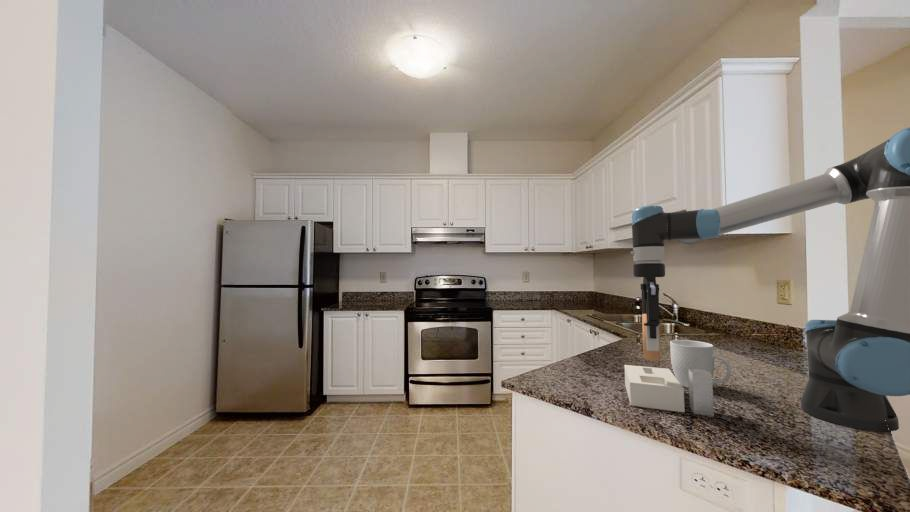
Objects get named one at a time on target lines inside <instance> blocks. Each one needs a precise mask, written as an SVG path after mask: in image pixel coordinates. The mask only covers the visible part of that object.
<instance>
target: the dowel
mask: <svg viewBox="0 0 910 512" xmlns="http://www.w3.org/2000/svg"><path fill="white" fill-rule="evenodd" d="M641 321H642V322H641V323H642V324H641V325H642V330H641V331H642V355H643V356H642V357H643V360H646V361H651V362H659V361H661V341H660V340H661V339H660V338H661V337H660V333H661V332H660V324H659V325H658V336H659V351H650V350H647V338H646V326H644V323H647V314H643V313H642V314H641Z"/></svg>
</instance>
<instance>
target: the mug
mask: <svg viewBox="0 0 910 512" xmlns="http://www.w3.org/2000/svg"><path fill="white" fill-rule="evenodd" d="M669 344H670V347H669V348H670V349H669V350H670V353H669V354H670V363H671V368H672V370H673V371H672V373H673V375H674V376H675V377H676V379H677V380H678V381H679V383H680V384H681V385H682V387H683V388H688V389H689V374H688V369H698V370H707V371H708V372H709V373H711V374H712V384H715V385H716V384H725V383H726V382H728V381H729V380H730V378H731V376H732V368H731V365H730V363H729V361H728V360H727V359H726V358H725V357H723V356H721V355H719V354H715V351H714V350H715V349H714V345H713V344H712V343H709V342H704V341H700V340H699V341H698V340H689V339H688V340H687V339H673V340H670V341H669ZM715 360H720V361H722V363H724V365H725V367H726V376H724V377H723V378H722V379H718V380H716V379H713V376H714V373H715Z"/></svg>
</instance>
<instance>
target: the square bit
mask: <svg viewBox="0 0 910 512" xmlns="http://www.w3.org/2000/svg"><path fill="white" fill-rule="evenodd" d="M688 374H689V388H688V393H689V408H690V410H691V411H692V413H693V414H694V415H699V414H700V415H701V416H707V415H711V416H710V417H715V413H714V412H715V411H714V390H713V383H712V379H713V377H712V374H711V373H709V372H708V371H707V370H698V369H688Z"/></svg>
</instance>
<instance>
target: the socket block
mask: <svg viewBox="0 0 910 512" xmlns="http://www.w3.org/2000/svg"><path fill="white" fill-rule="evenodd" d="M624 385H625V389H626V393H627V396H628V400H629V405H630V406H632V407H641V408H646V409H647V408H648V409H653V410H654V409H656V410H663V411H670V412H671V411H672V412H679V413H685V389H684V388H685V387H684V386H682V385H681V384H680V383H679V381H678V380H677V379H676V377H675V374H674V372H673V371H671V369H670V368H666V367H665V368H664V367H655V366H654V367H653V366H642V365H630V364H624Z"/></svg>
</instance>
